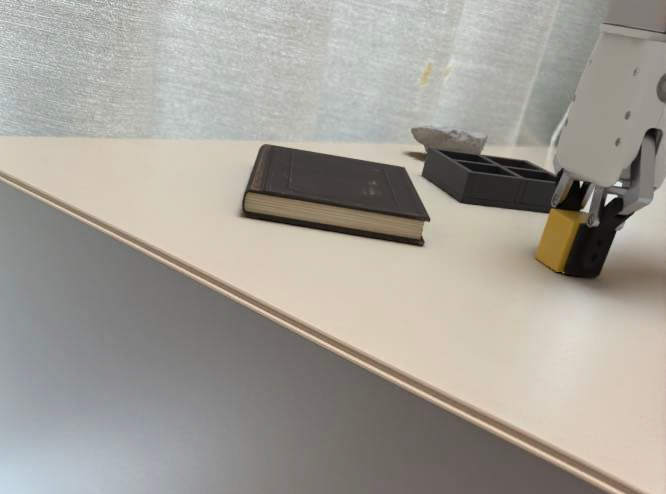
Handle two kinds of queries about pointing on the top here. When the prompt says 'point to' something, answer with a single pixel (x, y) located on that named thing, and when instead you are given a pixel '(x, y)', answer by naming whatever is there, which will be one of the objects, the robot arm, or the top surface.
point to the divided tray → (490, 180)
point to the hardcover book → (334, 194)
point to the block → (559, 237)
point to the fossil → (450, 139)
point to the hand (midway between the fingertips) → (567, 263)
